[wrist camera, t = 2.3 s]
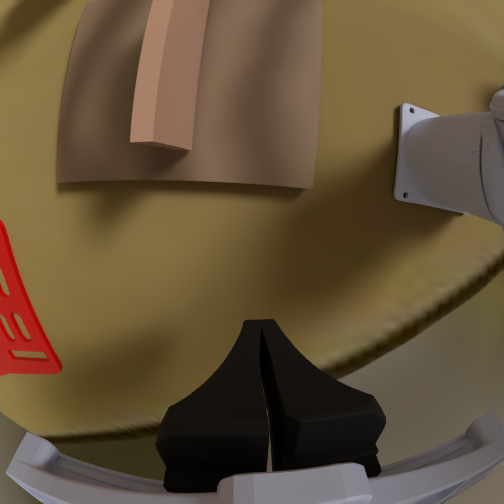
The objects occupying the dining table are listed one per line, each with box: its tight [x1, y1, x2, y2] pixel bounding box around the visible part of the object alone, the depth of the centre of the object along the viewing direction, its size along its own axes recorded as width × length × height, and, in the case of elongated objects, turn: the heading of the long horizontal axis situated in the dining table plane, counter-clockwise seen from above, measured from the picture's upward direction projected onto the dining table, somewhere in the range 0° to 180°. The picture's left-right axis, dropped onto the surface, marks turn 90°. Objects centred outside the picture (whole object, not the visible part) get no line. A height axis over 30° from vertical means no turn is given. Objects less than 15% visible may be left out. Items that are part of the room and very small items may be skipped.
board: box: [57, 0, 322, 189], centre depth 16 cm, size 19×16×2 cm
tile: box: [130, 0, 210, 150], centre depth 11 cm, size 1×12×8 cm, turn 176°
